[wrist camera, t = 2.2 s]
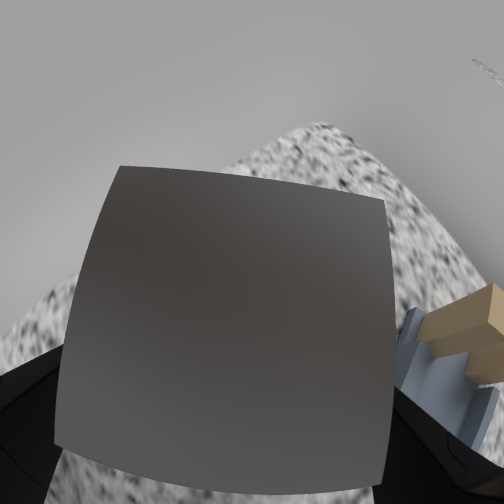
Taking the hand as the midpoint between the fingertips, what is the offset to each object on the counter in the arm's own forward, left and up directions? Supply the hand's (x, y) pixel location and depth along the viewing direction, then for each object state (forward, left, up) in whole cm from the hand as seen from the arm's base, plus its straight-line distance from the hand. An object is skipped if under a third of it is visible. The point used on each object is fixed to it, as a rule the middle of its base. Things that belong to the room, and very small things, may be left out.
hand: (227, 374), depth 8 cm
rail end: (0, +1, -9) cm, 9 cm away
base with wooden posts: (+11, -10, -9) cm, 17 cm away
